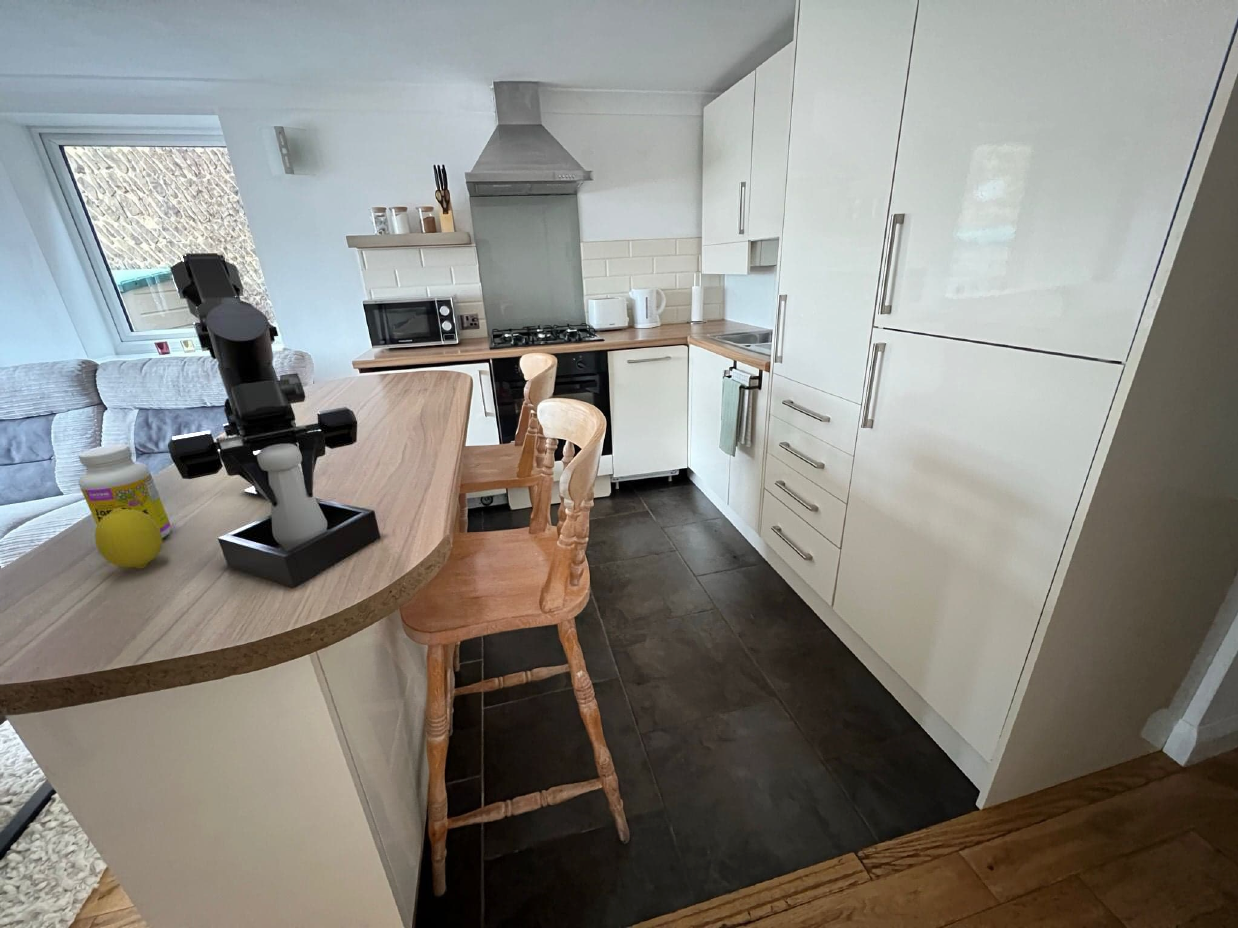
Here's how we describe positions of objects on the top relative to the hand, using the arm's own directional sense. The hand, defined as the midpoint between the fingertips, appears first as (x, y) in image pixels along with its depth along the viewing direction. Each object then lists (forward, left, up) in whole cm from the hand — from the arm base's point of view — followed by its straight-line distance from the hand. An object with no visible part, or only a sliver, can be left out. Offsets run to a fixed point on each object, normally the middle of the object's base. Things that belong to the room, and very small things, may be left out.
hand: (293, 500), depth 60 cm
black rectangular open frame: (-1, +1, -8) cm, 8 cm away
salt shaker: (-1, +1, -7) cm, 7 cm away
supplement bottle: (-26, -5, -8) cm, 28 cm away
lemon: (-17, -9, -8) cm, 21 cm away
